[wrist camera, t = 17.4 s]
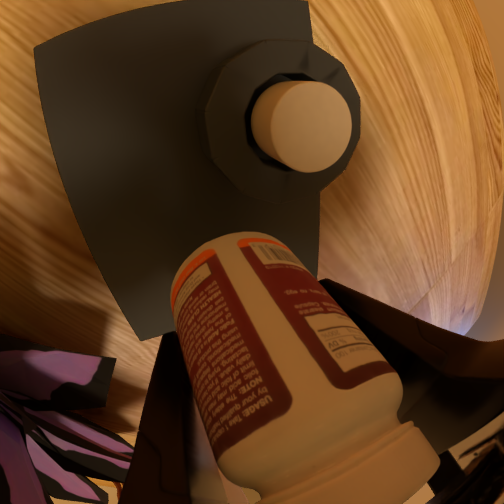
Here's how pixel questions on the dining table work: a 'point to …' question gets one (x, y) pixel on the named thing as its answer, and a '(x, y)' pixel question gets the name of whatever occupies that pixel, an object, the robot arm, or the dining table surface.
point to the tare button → (302, 124)
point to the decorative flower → (55, 425)
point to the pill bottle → (291, 381)
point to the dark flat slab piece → (181, 137)
